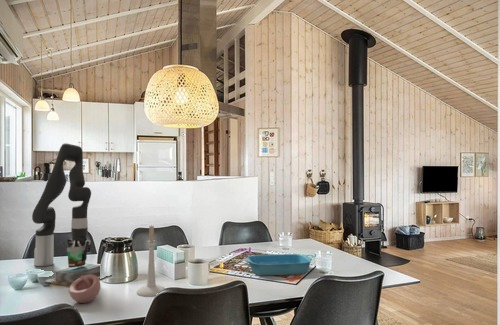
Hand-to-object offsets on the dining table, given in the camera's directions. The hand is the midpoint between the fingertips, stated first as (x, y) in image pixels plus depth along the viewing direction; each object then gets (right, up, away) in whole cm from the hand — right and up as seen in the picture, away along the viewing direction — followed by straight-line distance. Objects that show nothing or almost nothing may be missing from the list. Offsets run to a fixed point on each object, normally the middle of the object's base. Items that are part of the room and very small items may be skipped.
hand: (79, 260), depth 192 cm
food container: (+1, -3, 0) cm, 3 cm away
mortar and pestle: (+17, -9, -34) cm, 39 cm away
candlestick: (+42, -9, -20) cm, 47 cm away
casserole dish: (+102, -10, +15) cm, 103 cm away
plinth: (0, -9, 0) cm, 9 cm away
